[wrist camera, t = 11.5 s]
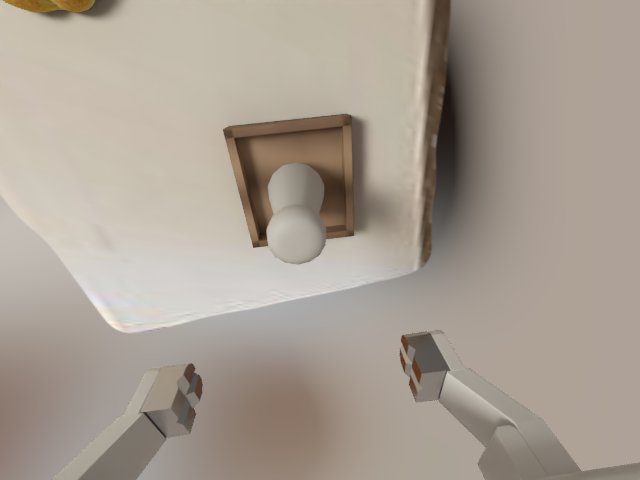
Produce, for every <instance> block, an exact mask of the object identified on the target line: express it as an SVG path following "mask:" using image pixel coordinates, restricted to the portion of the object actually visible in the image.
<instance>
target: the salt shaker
mask: <svg viewBox="0 0 640 480" xmlns="http://www.w3.org/2000/svg"><path fill="white" fill-rule="evenodd" d="M268 193H269V200H270V203H271V207H272V210H273V214H274V215H273V216H272V218H271V220H270V222H269V225H268V227H267V230H266V232H267V241H268V247H269V248H270V250H271V251H272V253H273V254H274V256H275V257H277V258H278V259H280V260H282V261H284V262H286V263H292V264H301V263H306V262H310V261H311V260H313V259H314V258H316V257H317V256H319V255H320V253H321V251H322V250H323V248H324V246H325V242H326V227H325V225H324V223H323V221H322V219H321V217H320V215H319V212H320V209H321V205H322V202H323V198H324V183H323V181H322V179H321V177H320V175H319V174H318V173H317V172H316V171H315V170H314V169H312V168H311V167H310V166H309V165H306V164H301V163H296V162H295V163H290V164H286V165H283V166H282V167H280V168H279V169H278V170H277V171H276V172H275V173H273V175H272V177H271V180H270V182H269V184H268Z"/></svg>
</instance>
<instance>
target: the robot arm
mask: <svg viewBox="0 0 640 480" xmlns="http://www.w3.org/2000/svg"><path fill="white" fill-rule="evenodd" d="M401 342H402V345H403V346H402V347H401V348H400V359H401V364H402V367H403V370H404V372H405V374H407V375H408V376H409V377H410V381H409V386H410V388H411V391H412V393H413V396H414V399H415V401H416V402H423V401H432V400H439V402H440V403H441V404H442V405H443V406H444V407H445V408H446V409H447V410H448V411H449V412H450V413H451V414H452V415H453V416H454V417H455V418H456V419H457V420H458V421H459V422H460V423H461V424H462V425H463V426H464V427H465V428H467V430H469V431H470V432H471V433H472V434H473V435H474V436H475V437H476V438H477V439H478V440H479V441H480V442H481V443H482V444H483V445H484V446H485V447H486V448H485V450H484V452H483V454H482V455H481V457H480V459H479V462H478V465H479V468H480V470H481V472H482V474H483V476H484V478H485V480H640V463H634V464H627V465H620V466H614V467H607V468H601V469H594V470H588V471H581V470H580V468H579V467H578V466H577V464H576V463H575V462H574V460H573V459H572V458H571V456H570V455H569V454H568V452H567V451H566V450H565V448H564V447H563V446H562V444H561V443H560V442H559V440H558V439H557V437H556V436H555V435H554V433H553V432H552V431H551V430H550V428H549V427H548V425H547V424H546V423H545V421H544V420H543V419H542V418H540V417H539V416H538V415H536V414H535V413H533V412H532V411H530V410H529V409H528V408H526V407H525V406H523V405H522V404H520V403H519V402H518V401H516V400H515V399H513V398H512V397H510V396H509V395H507V394H506V393H505V392H503V391H502V390H500V389H499V388H497V387H496V386H494V385H493V384H492V383H490V382H489V381H487V380H486V379H485V378H483V377H482V376H480V375H479V374H477V373H476V372H475V371H473V370H472V369H470V368H467V369H466V368H465V366H464V365H463V363H462V361H461V360H460V358H459V357H458V355H457V353H456V352H455V350H454V348H453V347H452V345H451V343H450V342H449V340H448V339H447V337H446V335H445V334H444V332H443V331H442V330H436V331H430V332H427V331H426V332H419V333H412V334H406V335H402V337H401ZM194 371H195V367H194V365H193V364H192V363H190V364H182V365H173V366H163V367H156V368H150V369H149V370H148V371H147V372H146V373H145V375H144V376H143V378H142V380H141V382H140V385H139V386H138V388H137V390H136V392H135V394H134V396H133V398H132V400H131V402H130V404H129V406H128V408H127V410H126V412H125V413H124V416H119V417H118V418H117V419H116V420H115V421H114V422H113V423H111V424H110V425H109V426H108V427H107V428H106V429H105V430H104V431H103V432H102V433H101V434H100V435H99V436H98V437H97V438H96V439H94V441H92V442H91V443H90V444H89V445H88V446H87V447H86V448H85V449H84V450H83V451H82V452H81V453H80V454H79V455H77V456H76V457H75V458H74V459H73V460H72V461H71V462H70V463H69V464H68V465H67V466H66V467H65V468H64V469H63V470H62V471H60V472H59V473H58V474H57V475H56V476H55V477H54V478H53V479H52V480H136V479H137V478H138V477H139V475H140V474H141V473H142V471H143V470H144V469H145V467H146V466H147V465H148V463H149V462H150V461H151V459H152V458H153V457H154V455H155V454H156V453H157V451H158V450H159V448H160V447H161V446H162V445H163V443H164V442H165V441H166V438H170V437H175V436H181V435H187V434H190V432H191V429H192V426H193V422H194V419H195V416H196V413H195V410H194V407H195V406H196V405H197V404H198V403H199V401H200V398H201V395H202V386H203V384H202V379H201V377H200V375H198V374H196V373H194Z"/></svg>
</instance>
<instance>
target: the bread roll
mask: <svg viewBox="0 0 640 480" xmlns="http://www.w3.org/2000/svg"><path fill="white" fill-rule="evenodd" d="M3 1H5V2H6V3H8V4H11V5H13V6H16V7H18V8H21V9H24V10H27V11H31V12H49V11H54V10H68V11H71V12H82V11H85V10H88V9H90V8H91V7H92V6H93V4H94V2H95V0H3Z"/></svg>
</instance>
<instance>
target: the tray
mask: <svg viewBox="0 0 640 480" xmlns="http://www.w3.org/2000/svg"><path fill="white" fill-rule="evenodd" d="M223 132H224V135H225V139H226V143H227V147H228V151H229V155H230V159H231V163H232V166H233V170H234V174H235V178H236V182H237V186H238V190H239V194H240V198H241V201H242V205H243V209H244V213H245V217H246V221H247V225H248V229H249V232H250V236H251V240H252V244H253V248H255V247H264V246H268V241H267V232H266V230H267V227H268V225H269V222H270V220H271V218H272V216H273V215H274V214H273V210H272V207H271V203H270V200H269V193H268V184H269V182H270V180H271V177H272V175H273V173H275V172H276V171H277V170H278V169H279V168H280V167H282V166H283V165H286V164H290V163H295V162H296V163H301V164H306V165H309V166H310V167H311V168H312V169H314V170H315V171H316V172H317V173H318V174H319V175H320V177H321V179H322V181H323V183H324V198H323V202H322V205H321V209H320V212H319V215H320V217H321V219H322V221H323V223H324V225H325V227H326V239H331V238H339V237H348V236H354V214H353V174H352V134H351V116H350V115H348V114H341V115H331V116H322V117H312V118H303V119H293V120H284V121H274V122H265V123H255V124H246V125H237V126H228V127H227V128H225V129H223Z"/></svg>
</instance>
